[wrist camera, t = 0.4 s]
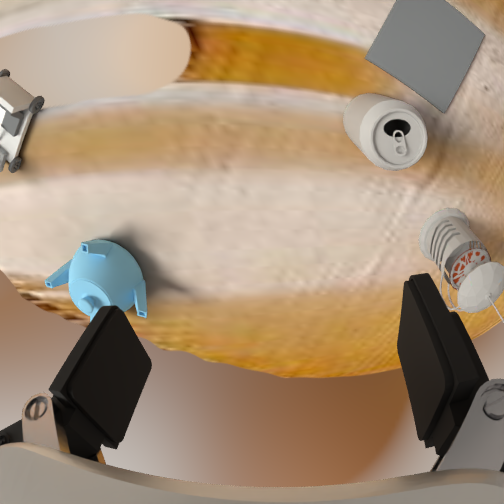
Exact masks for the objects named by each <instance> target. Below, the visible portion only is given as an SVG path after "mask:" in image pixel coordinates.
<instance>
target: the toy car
mask: <svg viewBox="0 0 504 504" xmlns="http://www.w3.org/2000/svg"><path fill="white" fill-rule="evenodd" d="M9 77H10V72H9V71H8V70H7V69H4V70H2V71H1V72H0V172H1V171H3V168H4V164H5V161H6V160H7V161H8V162H9V163H10V165H9V171H10V172H11V173H14V172H16V171H17V170H18V169H19V167H20V163H21V161H22V159H21V158H20V157H18V154H19V151H20V148H21V145H22V142H23V139H24V136H25V134H26V131H27V128H28V125H29V123H30V120H31V118H32V115H33V114H35V113H37V112H38V111H40V109H41V108H42V106H43V105H44V101H45V100H44V98H43V97H42V96H38V97H36V98H34V97H33V96H32V95H31V94H29V93H28V92H27V91H25V90H24V89H23V88H21V87H20V86H19V85H18V84H17V83H15V82H14V81H13V80H12V79H10V78H9Z"/></svg>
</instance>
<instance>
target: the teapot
mask: <svg viewBox="0 0 504 504" xmlns="http://www.w3.org/2000/svg"><path fill="white" fill-rule="evenodd" d="M68 282H69V292H70V296H71V298H72V300H73V302H74V304H75V305H76V306H77V307H78V308H79V309H80V310H81V311H82V312H83V313H85V314H86V315H88V316H90V322H91V320H92V319H93V317H94V316H95V315H96V313H97V312H98V310H99V309H100V308H101V307H102V306H110V305H116V306H118V307H119V308H120V309H121V310H123V312H125V311H127V310H128V309H130V308H131V307H132V306H133V305H134V304H135V306H136V310H137V315H139V316H142V317H145V318H146V317H147V301H146V284H145V281H144V280H143V275H142V272H141V269H140V267H139V265H138V263H137V262H136V260H135V259H134V257H133V256H132V255H131V254H130V253H129V252H128V251H127V250H126V249H124V248H123V247H121V246H120V245H118V244H116V243H113V242H110V241H106V240H91V241H87V242H82V243H81V247H80V248H79V249H78V250H77V252H76V253H75V255H74V257H73V259H71V260H70V261H69V262H67V263H66V264H65V265H63V266H62V267H61V268H60V269H58V270H57V271H56V272H55V273H53V274H52V275H51V276H50V277H48V278H47V279H46V280H45V284H46V286H47V287H50V288H53V287H56V286H59V285H62V284H65V283H68Z"/></svg>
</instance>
